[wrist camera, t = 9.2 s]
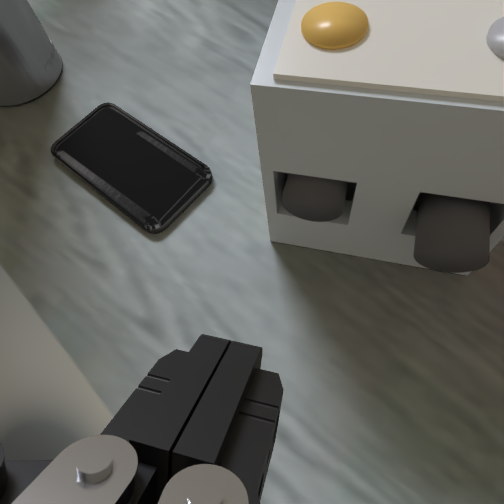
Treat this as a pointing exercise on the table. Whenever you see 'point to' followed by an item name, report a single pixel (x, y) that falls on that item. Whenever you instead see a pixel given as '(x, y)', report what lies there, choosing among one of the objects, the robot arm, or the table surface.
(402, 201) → the console
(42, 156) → the table surface
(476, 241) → the button
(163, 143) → the phone
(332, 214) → the button
